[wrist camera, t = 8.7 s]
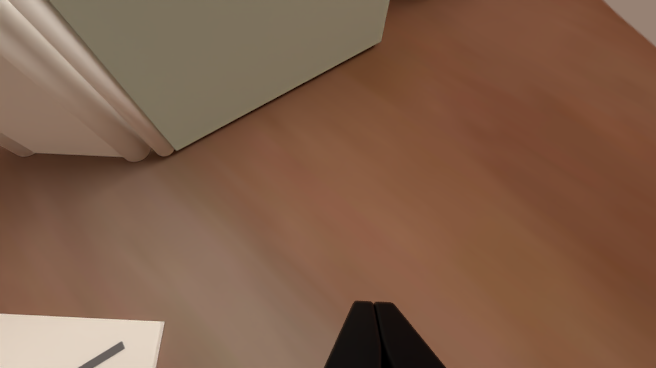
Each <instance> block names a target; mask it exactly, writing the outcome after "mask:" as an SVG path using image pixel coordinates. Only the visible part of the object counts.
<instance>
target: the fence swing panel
mask: <svg viewBox="0 0 656 368" xmlns="http://www.w3.org/2000/svg"><path fill="white" fill-rule="evenodd" d="M8 1H9V2H10V3H11V4H12V5H13V6H14V7H15V8H16V9H17V10H18V11H19V12H20V13H21V14H22V15H23V16H24V17H25V18H26V19H27V21H28V22H29V23H30V24H31V25H32V26H33V27H34V28H35V29H36V30H37V31H38V32H39V33H40V34H41V35H42V36H43V37H44V38H45V39H46V40H47V41H48V42H49V43H50V44H51V45H52V46H53V47H54V48H55V49H56V50H57V51H58V52H59V53H60V54H61V55H62V56H63V57H64V59H65V60H66V61H67V62H68V63H69V64H70V65H71V66H72V67H73V68H74V69H75V70H76V71H77V72H78V73H79V74H80V75H81V76H82V77H83V78H84V79H85V80H86V81H87V82H88V83H89V84H90V85H91V86H92V87H93V88H94V89H95V90H96V91H97V92H98V93H99V94H100V96H101V97H102V98H103V99H104V100H105V101H106V102H107V103H108V104H109V105H110V106H111V107H112V108H113V109H114V110H115V111H116V112H117V113H118V114H119V115H120V116H121V117H122V118H123V119H124V120H125V121H126V122H127V123H128V124H129V125H130V126H131V127H132V128H133V129H134V130H135V131H136V133H137V134H138V135H139V136H140V137H141V138H142V139H143V140H144V141H145V142H146V143H147V144H148V145H149V146H150V147H151V148H152V149H153V150H154V151H155V152H156V153H157V154H158V155H159V156H168V155H170V154H171V153H172V152H173V151H174V149H175V150H176V151H178V150H180V149H181V148H183V147H185V146H187V145H189V144H191V143H193V142H194V141H196V140H198V139H200V138H202V137H204V136H206V135H208V134H209V133H211V132H213V131H215V130H217V129H219V128H221V127H222V126H224V125H226V124H228V123H230V122H232V121H234V120H235V119H237V118H239V117H241V116H243V115H245V114H247V113H248V112H250V111H252V110H254V109H256V108H258V107H260V106H262V105H263V104H265V103H267V102H269V101H271V100H273V99H275V98H276V97H278V96H280V95H282V94H284V93H286V92H288V91H289V90H291V89H293V88H295V87H297V86H299V85H301V84H302V83H304V82H306V81H308V80H310V79H312V78H314V77H316V76H317V75H319V74H321V73H323V72H325V71H327V70H329V69H330V68H332V67H334V66H336V65H338V64H340V63H342V62H343V61H345V60H347V59H349V58H351V57H353V56H355V55H357V54H358V53H360V52H362V51H364V50H366V49H368V48H370V47H371V46H373V45H375V44H377V43H379V42H381V39H382V34H383V30H384V25H385V20H386V15H387V10H388V5H389V1H390V0H8Z"/></svg>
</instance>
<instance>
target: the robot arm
mask: <svg viewBox="0 0 656 368" xmlns="http://www.w3.org/2000/svg"><path fill="white" fill-rule="evenodd" d="M324 368H446V367H445V366H444V365H443V363H442V362H441V361H440V360H439V358H438V357H437V356H436V355H435V354H434V352H433V351H432V350H431V349H430V347H429V346H428V345H427V344H426V343H425V341H424V340H423V339H422V338H421V336H420V335H419V334H418V333H417V332H416V330H415V329H414V328H413V327H412V325H411V324H410V323H409V322H408V321H407V319H406V318H405V317H404V316H403V314H402V313H401V312H400V311H399V309H398V308H397V307H396V306H395V305H394V304H393V303H391V302H375V303H374V304H373V303H372V302H371V301H355V302H354V303H353V305H352V307H351V309H350V311H349V313H348V316H347V318H346V320H345V322H344V324H343V327H342V329H341V331H340V333H339V336H338V338H337V340H336V342H335V344H334V347H333V349H332V351H331V353H330V355H329V358H328V360H327V362H326V364H325V367H324Z"/></svg>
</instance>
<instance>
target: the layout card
mask: <svg viewBox="0 0 656 368" xmlns="http://www.w3.org/2000/svg"><path fill="white" fill-rule="evenodd" d="M163 327H164V322H159V321H138V320H118V319H97V318H77V317H57V316H36V315H16V314H0V368H156V364H157V359H158V353H159V348H160V343H161V338H162V333H163Z"/></svg>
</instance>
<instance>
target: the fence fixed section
mask: <svg viewBox="0 0 656 368" xmlns="http://www.w3.org/2000/svg"><path fill="white" fill-rule="evenodd" d="M0 146H2V147H3V148H5V149H7V150H9V151H11V152H12V153H14V154H16V155H18V156H21V157H27V156H30V155H33V154H34V153H46V154H67V155H89V156H110V157H124V158H125V159H126V160H128V161H130V162H138V161H141V160H143V159H144V158H146V157H147V156H148V154H149V153H150V150H151V147H150V146H149V145H148V144H147V143H146V142H145V141H144V140H143V139H142V138H141V137H140V136H139V135H138V134H137V133H136V131H135V130H134V129H133V128H132V127H131V126H130V125H129V124H128V123H127V122H126V121H125V120H124V119H123V118H122V117H121V116H120V115H119V114H118V113H117V112H116V111H115V110H114V109H113V108H112V107H111V106H110V105H109V104H108V103H107V102H106V101H105V100H104V99H103V98H102V97H101V96H100V94H99V93H98V92H97V91H96V90H95V89H94V88H93V87H92V86H91V85H90V84H89V83H88V82H87V81H86V80H85V79H84V78H83V77H82V76H81V75H80V74H79V73H78V72H77V71H76V70H75V69H74V68H73V67H72V66H71V65H70V64H69V63H68V62H67V61H66V60H65V59H64V57H63V56H62V55H61V54H60V53H59V52H58V51H57V50H56V49H55V48H54V47H53V46H52V45H51V44H50V43H49V42H48V41H47V40H46V39H45V38H44V37H43V36H42V35H41V34H40V33H39V32H38V31H37V30H36V29H35V28H34V27H33V26H32V25H31V24H30V23H29V22H28V21H27V19H26V18H25V17H24V16H23V15H22V14H21V13H20V12H19V11H18V10H17V9H16V8H15V7H14V6H13V5H12V4H11V3H10V2H9V1H8V0H0Z"/></svg>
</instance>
